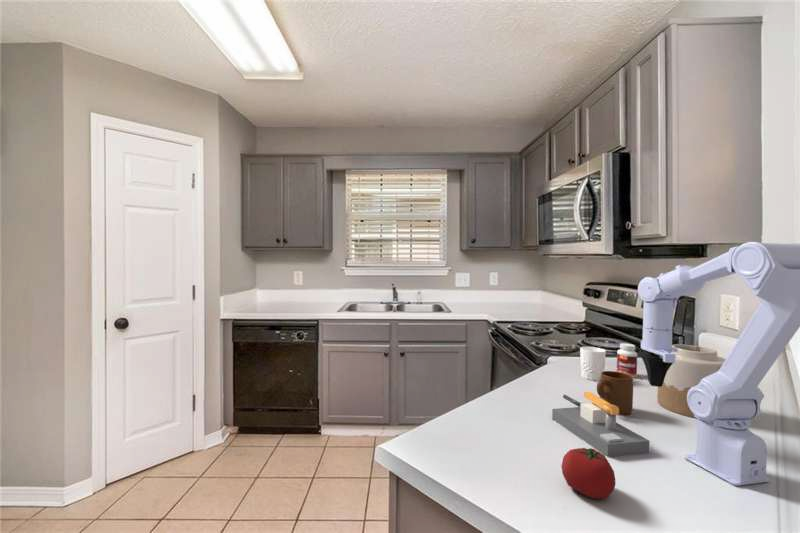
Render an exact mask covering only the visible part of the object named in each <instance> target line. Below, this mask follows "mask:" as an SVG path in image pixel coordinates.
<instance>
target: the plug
mask: <svg viewBox="0 0 800 533" xmlns="http://www.w3.org/2000/svg"><path fill="white" fill-rule="evenodd" d="M562 398H563V399H564V400H566V401H568V402H570V403H571V404H574V406H577V407H580V410H581V412H580V416H581V417H583V418H584V419H586V420H588V421H589V422H591V423H605V417H606V412H604V409H602V408H601V407H599V406H598V405H596V404H595V403H593V402H586V403H585V402H582V403H581V402H580V401H577V400H576V399H574V398H572V397H570V396H568V395H567V394H563V396H562Z"/></svg>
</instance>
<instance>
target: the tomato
mask: <svg viewBox="0 0 800 533" xmlns="http://www.w3.org/2000/svg"><path fill="white" fill-rule="evenodd" d="M561 470H562V471H561V472H562V475H563V478H564V480H565V481H566V484H567V486H568V487H570V488H571V489H572V490H574V491H576V492H579V493H581V494H582V495H583V496H586V497H588V498H589V499H596V500H597V499H598V500H604V499H606V498H608V497H609V496H610V495H611V494H612V493H613V492H614V490H615V487H616V483H617V482H616V476H615V475H616V474H615V471H614V469H613V467H612V465H611V463H610V462H609V460H608V459H607V456H606V455H604V454H603V453H601V452H600V451H598V450H597V449H595V448H592V447H591V448H585V447H578V448H573V449H569V450H568V451H567V452H566V453H565V454H564V455H563V458H562V462H561Z"/></svg>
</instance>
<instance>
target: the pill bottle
mask: <svg viewBox="0 0 800 533" xmlns="http://www.w3.org/2000/svg"><path fill="white" fill-rule="evenodd" d="M619 348H620V349H617V352H616V370H615V372H621V373H625V374H628V375H630V376H632V377H634V378H637V374H638V373H637V372H638V353H637V352H636V345H635V344H631V343H626V342H625V343H622V342H621V343H619Z"/></svg>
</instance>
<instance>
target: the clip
mask: <svg viewBox="0 0 800 533" xmlns="http://www.w3.org/2000/svg"><path fill="white" fill-rule="evenodd" d="M583 397H584V398H585V399H587V400H588V401H590V403H595V404H596V405H598V406H599V407H601V408H602V409H604V412H606V413H609V414H612V415H616V416H617V415H620V414H619V409H618V407H617V406H615V405H612V404H610V403H608V402H606V401H605V400H603V399H601V398H600V396H599V395H597V394H595V393H593V392H592V391H583Z"/></svg>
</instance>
